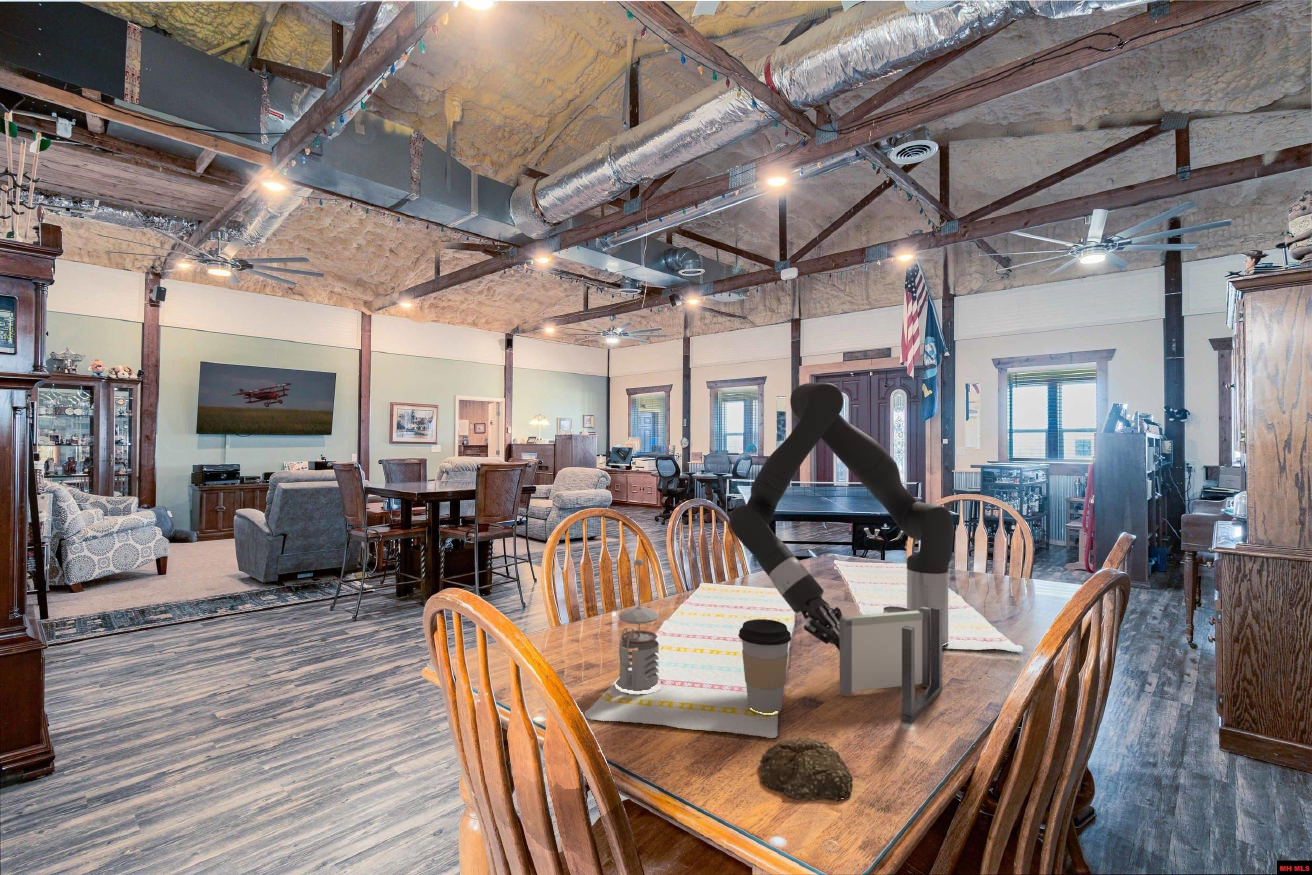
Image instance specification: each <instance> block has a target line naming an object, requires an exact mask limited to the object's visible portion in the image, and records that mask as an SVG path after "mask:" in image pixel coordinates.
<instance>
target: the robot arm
mask: <svg viewBox="0 0 1312 875" xmlns="http://www.w3.org/2000/svg"><path fill="white" fill-rule="evenodd" d="M789 400H790V401H789V403H790V408H791V411H792V413H793V414H794V416H795V417H796V418H797V419H798V420H799V421H798V422H797V424H796V425H795V427H794V429H793V430H792V431H791V432H790V434H789V435H788V436H787V438H786V439H785V440H784V441H783V442H782V443H781V444H780V445H779V446H778V447H777V448H776V449H775V450H774V451H773V452H772V453H771V454H770V456H769V457H768V458H766V461H765V462H764V463H763V464H762V466H761V468H760V470H759V472H758V473H757V475H756V477H755V478H754V480H753V481H752V484H751V486H750V497H749V499H748V501H747V503H746V504H743V505H738V506H737V507H735V508H733V510H732V511H731V512H730V514H729V518H728V521H729V522H728V523H729V527H730V529H731V531H732V533H733V534H734V535H735V537H736V538H737V539H738V540H739V541H740V542H741V543H742V544H743V546H744V547H745V548H746V550H748V551H749V552H750V553H751V554H752V556H753V557H754V558H755V559H756V561H757V563H758V564H759V566H760V567H761V568H762V570H763V571H764V572H765V574H766V575H767V576H768V578H769V580H770V581H771V583H772V584H773V586H774V587H775V589H776V590H777V592H778V594H780V595H781V597H782V598H783V599H784V601H785V602H786V603H787V604H788V606H789V607H790V608H791V610H792V611H793V613H796V614H799V613H801V615H802V617H803V618H804V619H805V620H806V621H805V622H806V624H805V625H803V629H804V630H805V631H806V632H807V633H809V634H810V635H812V636H813V637H815V638H816V639H818V640H820V641H821V642H823V643H824V644H825V645H828V644H831V645H834V646H835V647H836V648H837V650H838V651H839V652H840V619H841V617H842V616H843V614H842V611H841V609H840V608H839V607H838V606H836V607H835V608H832V607H830V604H829V602H827V601H826V600H824V598H823V597H822V596H823V594H824V589H823V588H822V586H821V585H820V584H819V583H818V581H817V580H816V579H815V578H814V577H813V575H812V574H811V573H810V572H809V571H808V569H807V567H805V566H804V564H803V563H802V562H801V561H800V560H799V559H798V558H797V557H796V556H795V555H794V554H793V552H792V551H791V550H790V548H788V546H787V545H786V544H785V542H783V541H782V540H781V539H780V538H779V537H778V536H777V535H776V534H775V532H773V530H772V529H771V527H770V524H771V522H772V519H773V518H774V517H773V516H774V515H775V512H776V510H777V508H778V507H777V506H778V503H779V502H780V500H781V499H782V497H783V496H784V494H785V492H786V490H788V487H789V485H790V483H791V482H792V480H793V478H794V476H795V475H796V474H797V472H798V470H799V468H800V467H801V466H802V464H803V462H804V461H805V460H806V458H808V455H809V454H810V452H812V450H813V449H814V447H815V446H816V445H817V443H818V442H819V441H820V439H821V440H822V441H823V443H825V444H826V445H827V446H828V447H829V449H830V450H831V451H832V452H833V454H835V455H836V457H837V458H838V459H839V461H841V462H842V464H843V465H844V466H846V468H847V469H848V471H850V473H851V474H852V475H853V476H854V477H855V478H856V479H857V480H858V481H859V482H860V483H861V484H862V486H864V488H866V489H867V490H868V492H870V493H871V494H872V496H873V497H874V498H875V499H876V500H877V501H878V502H879V503H880V504H881V506H883V508H884V509H885V510H886V511H887V513H889V515H890V516H891V518H892V519H893V521H894V522H895V524H896V525H897V526H898V527H899V529H900V530H901V531H902V533H904V534H905V536H906V537H908V538H910V539H912V540H916V541H920V543H919V544H920V545H919V549H918V550H919V551H918V552H917V553H915V554H911V555H909V556H907V558H906V608H907V609H909V610H911V611H917V610H918V611H919V607H928V608H930V647H931V607H933V606H936V607H942V645H943V644H945V643H947V642H948V643H949V565H950V563H951V561H952V557H953V546H954V544H953V543H954V520H953V516H952V514H951V512H950V510H949V509H948V508H947V507H946V506H945V505H944V506H943V505H940V504H936V503H935V504H933V503H926V502H922V501H920V500H917V499H916V498H915V497H914V496H913V495H912V494H911V493H910V492H909V491H908V490H907V489H906V487H905V486H904V485H903V483H902V481H901V480H902V479H901V473H900V469H899V466H898V464H897V462H896V461H895V459H894V458H893V457H892V456H891V455H890V454H889V452H887V450H886V449H885V448H884V447H883V446H882V445H881V444H880V443H879V442H878V441H876V440H875V439H874V438H872V437H871V436H870V435H868V434H867V433H865V432H864V431H862V430H861V429H859V428H858V427H857V426H854V425H853V424H851V423H850V422H849V421H848V420H846V419H845V418H844V417H843V416H842V414H841V412H842V410H843V407H844V396H843V392H842V391H841V389H840V388H839V387H838V386H837V385H835V384H833V383H831V382H820V381H819V382H806V383H803V384H800V385H798V386H797V387H795V388H794V389H793V391H792V392H791V394H790V399H789Z"/></svg>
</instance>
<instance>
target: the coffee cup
mask: <svg viewBox="0 0 1312 875" xmlns="http://www.w3.org/2000/svg"><path fill="white" fill-rule="evenodd" d="M738 632H739V633H738V638H739V639H741V643H742V650H741V651H742V653H741V654H742V662H743V663H742V664H743V672H744V681H745V686H746V694H747V703H748V704H747V705H748V708H749V707H750V708H752V709H753V710H755V711H758V712H762V713H773V712H775V711H778V713H777V714H779V713H780V712H782V708H783V700H784V699H783V698H784V690H785V685H786V680H787V669H788V661H789V660H788V659H789V651H788V650H789V642H790V641H792V635H791V632H790V630H788V626H787V625H786V624H785V623H784V622H781V621H778V620H773V619H765V618H762V619H761V618H759V619H758V618H756V619H749V620H746V621H744V622H743V623H742V627H740V629H739V631H738Z"/></svg>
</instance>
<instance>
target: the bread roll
mask: <svg viewBox="0 0 1312 875" xmlns="http://www.w3.org/2000/svg"><path fill="white" fill-rule="evenodd" d="M759 763H760V768H761V775H760V777H761V779H760V780H761V782H762V784H763V785H764V786H765V787H766V788H768V789H770V790H773V791H775V792H778V791H779V793H784V794H785V795H786V796H788V797H789V798H791V799H795V798H796V800H803V799H804V800H803V801H808V800H809V801H817V800H818V801H819V800H822V799H826V800H825V801H827V800H828V801H831V800H839V799H841V798H844V799H843V800H846V799H848V798H849V797H850V796H851V794H852V792H853V786H854V785H853V781H854V777H853V775H852V773H851V772H850V769H849V766H847V764H846V763H845V761H844V760H843V758H842V757H841V755H840V754H839V752H837V751H836V750H835V749H834V747H833V746H831V745H829V744H828V742H822V741H819V740H817V739H814V738H809V737H807V736H806V737H798V738H792V739H788V740H782V741H780V742H777V743H775V744H773V745H772V746H771V745H770V747H769V748H767V750H765V752H764V753H762V755H761V759H760V761H759ZM845 798H846V799H845ZM841 800H842V799H841ZM839 801H840V800H839Z"/></svg>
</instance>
